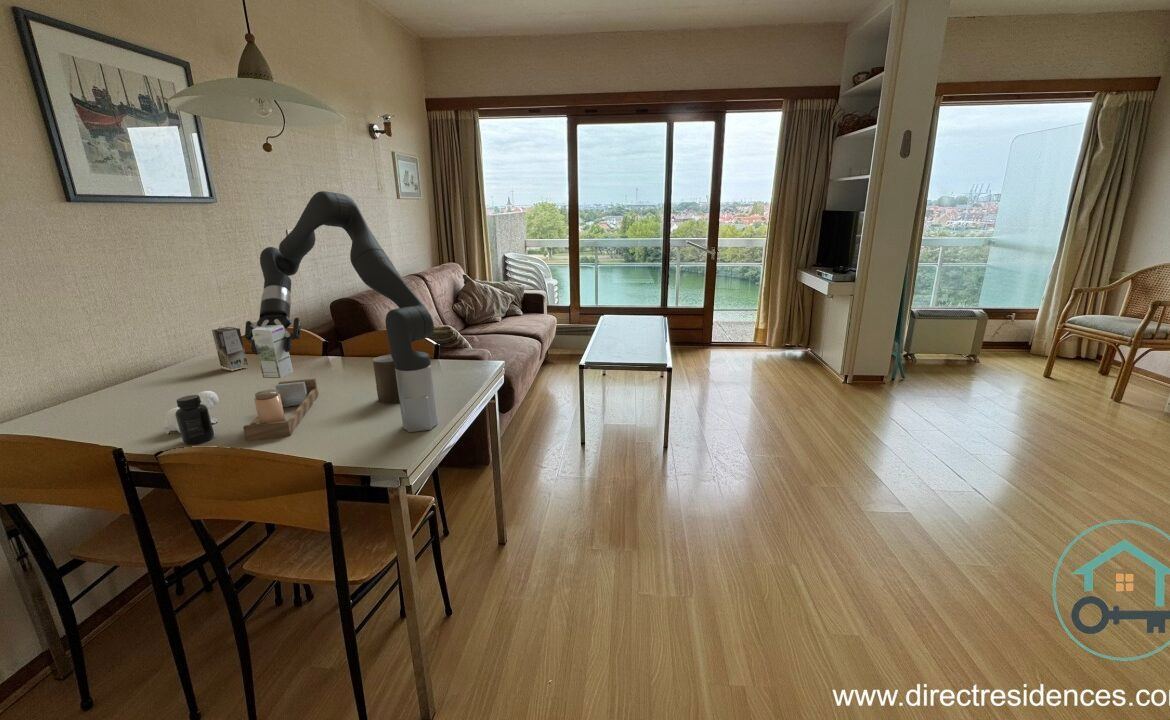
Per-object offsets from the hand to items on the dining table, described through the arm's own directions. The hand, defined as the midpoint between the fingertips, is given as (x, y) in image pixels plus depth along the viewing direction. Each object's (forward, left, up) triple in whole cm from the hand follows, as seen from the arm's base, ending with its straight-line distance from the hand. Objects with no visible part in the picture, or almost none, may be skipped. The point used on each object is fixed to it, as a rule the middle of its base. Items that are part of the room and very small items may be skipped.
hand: (271, 352), depth 140 cm
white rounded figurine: (+2, +23, -20) cm, 31 cm away
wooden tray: (+1, 0, -20) cm, 20 cm away
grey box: (+13, 0, -20) cm, 23 cm away
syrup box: (+2, 0, -8) cm, 8 cm away
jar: (-10, 0, -20) cm, 22 cm away
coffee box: (+64, +35, -20) cm, 76 cm away
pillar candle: (+6, -30, -20) cm, 37 cm away
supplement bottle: (-10, +18, -20) cm, 29 cm away
